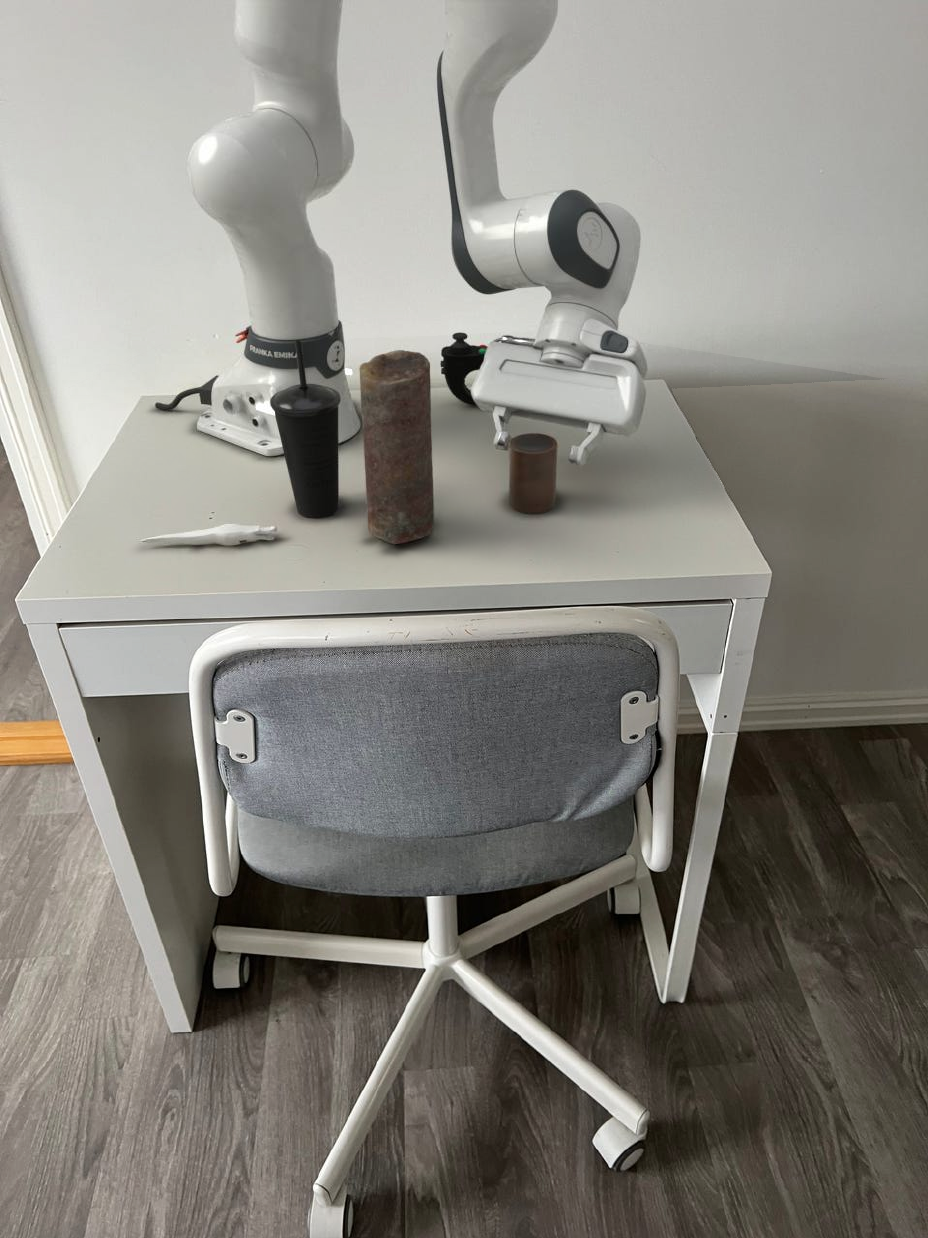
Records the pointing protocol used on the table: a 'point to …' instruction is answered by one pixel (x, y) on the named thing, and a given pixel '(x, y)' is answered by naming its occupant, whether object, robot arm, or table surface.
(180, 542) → the white toy lizard
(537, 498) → the pencil cup
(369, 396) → the brown stone cylinder
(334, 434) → the drinking cup
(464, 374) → the controller
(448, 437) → the table surface
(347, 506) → the table surface
